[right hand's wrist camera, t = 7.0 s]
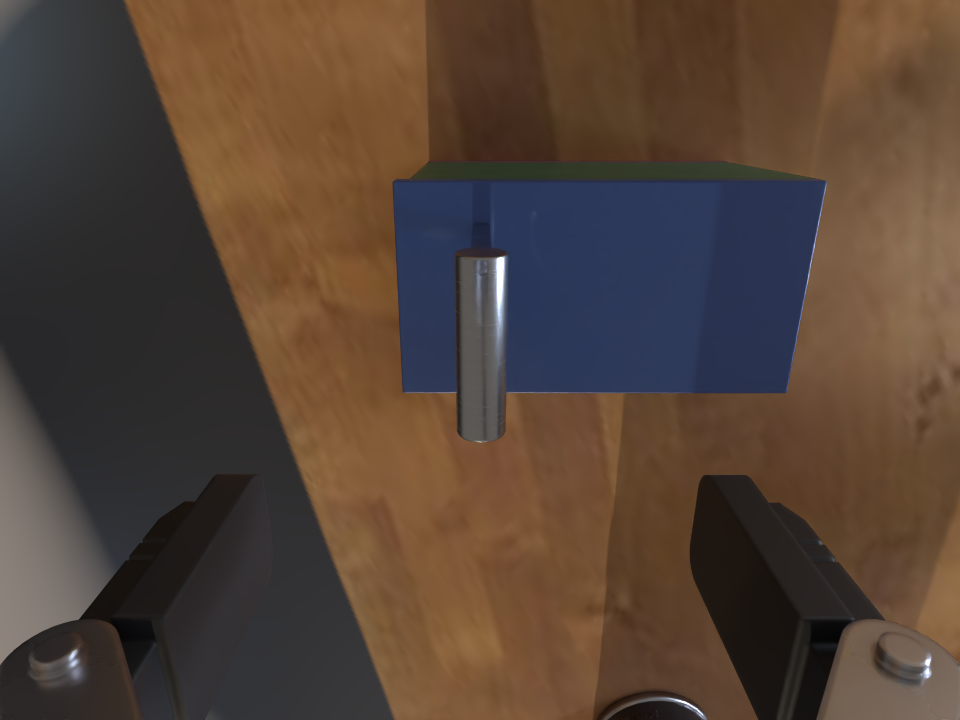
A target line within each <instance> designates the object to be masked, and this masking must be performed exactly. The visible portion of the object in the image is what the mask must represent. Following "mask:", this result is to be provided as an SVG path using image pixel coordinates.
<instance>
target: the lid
mask: <svg viewBox="0 0 960 720" xmlns="http://www.w3.org/2000/svg"><path fill="white" fill-rule="evenodd" d="M826 185H827V182H826V181H824V180H819V179H396V180H394V181H393V201H394V221H395V242H396V262H397V283H398V304H399V324H400V345H401V366H402V386H403V393H456V404H457V432H458V434H459V436H460V437H462V438H463V439H465V440H468V441H472V442H491V441H495V440H497V439H499V438H501V437H502V436H503V435H504V433H505V431H506V393H786V392H787V387H788V382H789V377H790V372H791V367H792V361H793V356H794V351H795V346H796V341H797V335H798V330H799V325H800V320H801V315H802V309H803V304H804V299H805V294H806V289H807V283H808V278H809V273H810V268H811V263H812V257H813V252H814V247H815V242H816V237H817V231H818V226H819V221H820V216H821V211H822V205H823V200H824V195H825V190H826Z"/></svg>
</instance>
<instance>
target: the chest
mask: <svg viewBox="0 0 960 720" xmlns="http://www.w3.org/2000/svg"><path fill="white" fill-rule="evenodd" d="M410 179H814V178H809V177H804V176H798V175H793V174H788V173H782V172H777V171H772V170H766V169H761V168H756V167H750V166H745V165H739V164H734V163H729V162H725V161H429V162H428V163H427V164H426V165H425V166H424V167H423V168H422V169H421V170H419V171H418V172H417V173H416V174H415V175H414V176H413V177H411V178H410Z"/></svg>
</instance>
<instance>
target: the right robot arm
mask: <svg viewBox="0 0 960 720" xmlns="http://www.w3.org/2000/svg"><path fill="white" fill-rule="evenodd" d="M272 563H273V540H272V533H271V526H270V519H269V512H268V505H267V499H266V492H265V485H264V481H263V479H262V477H261V475H259V474H217V475H215V476H214V477H213V478H212V480H211V481H210V482H209V484H208V485H207V486H206V488H205V489H204V490H203V492H202V493H201V494H200V496H199V497H198V498H197V500H196V501H195V502H183V503H182V504H180V505H179V506H177V507H176V508H175V509H173V510H172V511H170V512H169V513H167V514H166V515H164V516H163V517H161V518H160V519H159V520H158V521H157V522H156V523H155V525H154V526H153V527H152V529H151V530H150V531H149V532H148V534H147V535H146V536H145V537H144V538H143V543H140V544H139V545H138V546H137V547H136V549H135V550H134V551H133V552H132V554H131V555H130V558H129V561H125V562H124V564H123V565H122V566H121V567H120V569H119V570H118V571H117V572H116V574H115V575H114V576H113V577H112V579H111V580H110V581H109V582H108V584H107V585H106V586H105V587H104V589H103V590H102V591H101V592H100V594H99V595H98V596H97V597H96V599H95V600H94V601H93V602H92V604H91V605H90V606H89V608H88V609H87V610H86V611H85V613H84V614H83V615H82V616H81V618H80V619H79V620H75V621H70V622H66V623H63V624H60V625H57V626H54V627H51V628H49V629H47V630H44V631H42V632H40V633H39V634H37V635H35V636H33V637H31V638H30V639H28V640H27V641H25V642H24V643H22V644H21V645H20V646H19V647H17V648H16V649H15V650H14V651H13V652H12V653H11V654H10V655H8V657H7V658H6V659H5V660H4V661H3V662H2V664H1V665H0V720H205V718H206V716H207V714H208V712H209V710H210V707H211V705H212V703H213V701H214V699H215V696H216V694H217V692H218V690H219V687H220V685H221V683H222V681H223V679H224V677H225V675H226V672H227V670H228V668H229V666H230V663H231V661H232V659H233V657H234V655H235V653H236V650H237V648H238V646H239V644H240V642H241V639H242V637H243V635H244V633H245V631H246V628H247V626H248V624H249V622H250V620H251V617H252V615H253V613H254V611H255V609H256V607H257V604H258V602H259V600H260V598H261V595H262V593H263V591H264V589H265V587H266V585H267V582H268V580H269V577H270V574H271V570H272ZM690 564H691V570H692V574H693V578H694V581H695V583H696V585H697V588H698V590H699V592H700V594H701V596H702V598H703V601H704V603H705V605H706V607H707V609H708V611H709V614H710V616H711V618H712V620H713V622H714V624H715V627H716V629H717V631H718V633H719V635H720V637H721V640H722V642H723V644H724V646H725V648H726V650H727V653H728V655H729V657H730V659H731V661H732V663H733V666H734V668H735V670H736V672H737V674H738V676H739V679H740V681H741V683H742V685H743V687H744V689H745V692H746V694H747V696H748V698H749V700H750V702H751V705H752V707H753V709H754V711H755V713H756V715H757V718H758V720H960V665H959V664H958V662H957V661H956V660H955V659H954V658H953V656H952V655H950V654H949V653H948V652H947V651H946V650H945V649H944V648H943V647H941V646H940V645H939V644H938V643H936V642H935V641H933V640H932V639H930V638H929V637H927V636H925V635H923V634H921V633H920V632H918V631H916V630H913V629H911V628H909V627H906V626H903V625H900V624H897V623H894V622H890V621H885V619H884V618H883V617H882V616H881V614H880V613H879V612H878V611H877V609H876V608H875V607H874V606H873V604H872V603H871V602H870V601H869V599H868V598H867V597H866V596H865V594H864V593H863V592H862V591H861V589H860V588H859V587H858V586H857V584H856V583H855V582H854V581H853V579H852V578H851V577H850V576H849V574H848V573H847V572H846V571H845V570H844V568H843V567H842V566H841V565H840V563H839V562H835V557H834V556H833V555H832V553H831V552H830V551H829V550H828V548H827V547H826V546H825V545H822V544H821V540H820V538H819V537H818V536H817V535H816V533H815V532H814V531H813V530H812V528H811V527H810V526H809V525H808V523H807V522H806V521H805V520H804V519H802V518H801V517H799V516H798V515H796V514H795V513H793V512H792V511H790V510H789V509H788V508H786V507H785V506H783V505H782V504H780V503H768V501H767V500H766V499H765V497H764V496H763V494H762V493H761V492H760V490H759V489H758V488H757V486H756V485H755V484H754V482H753V481H752V480H751V479H750V478H749V477H748V476H746V475H704V476H703V477H702V478H701V480H700V483H699V488H698V494H697V501H696V508H695V515H694V522H693V529H692V535H691V542H690ZM598 720H708V719H707V717H706V715H705V713H704V712H703V711H702V709H701V708H700V707H699V706H698V705H696V704H695V703H694V702H692V701H691V700H689V699H687V698H685V697H682V696H680V695H676V694H672V693H666V692H646V693H640V694H636V695H632V696H629V697H627V698H624V699H622V700H620V701H618V702H616V703H615V704H613V705H612V706H610V707H609V708H608V709H607V710H605V711H604V712H603V714H602V715H601V716H600V717H599V719H598Z"/></svg>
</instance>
